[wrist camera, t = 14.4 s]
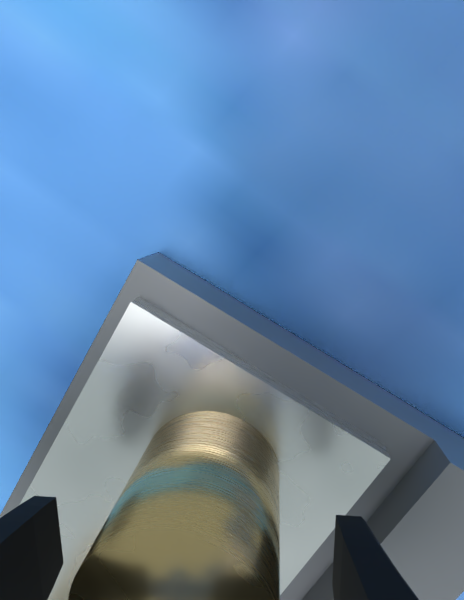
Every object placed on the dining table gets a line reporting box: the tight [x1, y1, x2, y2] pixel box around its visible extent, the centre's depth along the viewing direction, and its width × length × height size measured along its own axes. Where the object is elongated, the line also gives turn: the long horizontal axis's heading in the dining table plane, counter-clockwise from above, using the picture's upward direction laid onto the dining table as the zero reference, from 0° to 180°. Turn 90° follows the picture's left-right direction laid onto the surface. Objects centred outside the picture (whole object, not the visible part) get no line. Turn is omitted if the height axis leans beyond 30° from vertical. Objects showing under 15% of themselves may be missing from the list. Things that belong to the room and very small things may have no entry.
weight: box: [68, 411, 280, 600], centre depth 11 cm, size 4×4×5 cm
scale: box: [0, 252, 464, 600], centre depth 16 cm, size 14×20×4 cm
